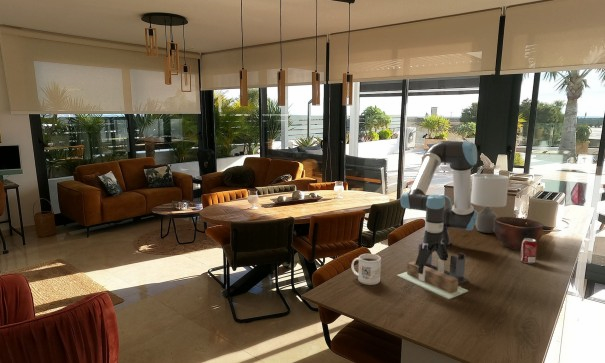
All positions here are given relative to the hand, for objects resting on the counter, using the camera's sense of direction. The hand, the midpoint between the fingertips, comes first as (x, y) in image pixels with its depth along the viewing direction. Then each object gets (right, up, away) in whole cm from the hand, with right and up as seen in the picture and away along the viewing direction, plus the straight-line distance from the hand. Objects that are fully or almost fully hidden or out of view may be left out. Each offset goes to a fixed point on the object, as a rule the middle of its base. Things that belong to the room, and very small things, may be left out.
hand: (431, 276), depth 170 cm
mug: (-28, -3, +5) cm, 29 cm away
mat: (0, -3, +1) cm, 3 cm away
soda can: (+59, +1, +26) cm, 64 cm away
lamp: (+62, +10, +78) cm, 100 cm away
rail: (0, -2, +1) cm, 3 cm away
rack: (+8, -1, +12) cm, 14 cm away
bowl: (+66, +5, +49) cm, 82 cm away
